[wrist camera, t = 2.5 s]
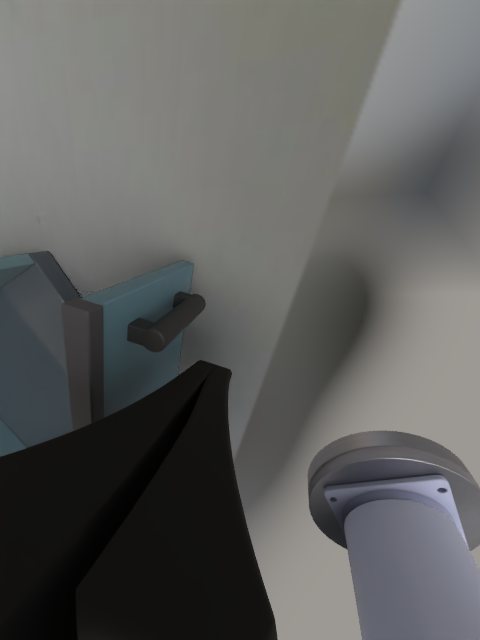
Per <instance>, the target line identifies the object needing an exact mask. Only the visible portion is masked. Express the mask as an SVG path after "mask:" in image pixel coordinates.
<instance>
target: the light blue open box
mask: <svg viewBox="0 0 480 640" xmlns="http://www.w3.org/2000/svg"><path fill="white" fill-rule="evenodd" d="M75 298H81V297H80V296H79V294H78V293H77V291H76V290H75V289H74V287H73V286H72V284H71V283H70V281H69V280H68V278H67V277H66V276H65V274H64V273H63V271H62V270H61V268H60V267H59V265H58V264H57V263H56V261H55V260H54V258H53V257H52V255H51V254H50V252H49V251H45V252H38V253H30V254H21V255H13V256H6V257H0V457H1V456H4V455H7V454H10V453H14V452H17V451H20V450H23V449H26V448H28V447H31V446H34V445H37V444H39V443H42V442H45V441H48V440H51V439H53V438H56V437H59V436H62V435H64V434H67V433H69V432H72V431H73V430H72V419H71V409H70V398H69V387H68V376H67V366H66V355H65V344H64V333H63V323H62V312H61V304H62V303H64V302H67V301H70V300H73V299H75Z"/></svg>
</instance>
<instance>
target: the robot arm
mask: <svg viewBox="0 0 480 640" xmlns="http://www.w3.org/2000/svg"><path fill="white" fill-rule="evenodd" d="M231 375H232V372H231V370H230V369H227V368H224V367H221V366H218V365H214V364H211V363H208V362H205V361H202V360H200V361H198V362H196V363H195V364H194V365H192V366H191V367H190V368H188V369H187V370H186V371H184V372H183V373H181V374H180V375H179V376H177V377H176V378H174V379H173V380H171V381H170V382H168V383H167V384H165V385H163V386H162V387H160V388H159V389H157V390H155V391H154V392H152V393H150V394H149V395H147V396H145V397H143V398H142V399H140V400H138V401H136V402H135V403H133V404H131V405H129V406H127V407H125V408H123V409H121V410H119V411H117V412H115V413H113V414H111V415H109V416H107V417H105V418H102V419H100V420H98V421H96V422H93V423H91V424H89V425H86V426H84V427H82V428H79V429H77V430H74V431H72V432H69V433H67V434H64V435H62V436H59V437H56V438H53V439H51V440H48V441H45V442H42V443H39V444H37V445H34V446H31V447H28V448H26V449H23V450H20V451H17V452H14V453H10V454H7V455H4V456H1V457H0V640H277V632H276V625H275V618H274V615H273V611H272V608H271V605H270V602H269V599H268V596H267V593H266V589H265V586H264V583H263V580H262V577H261V574H260V570H259V567H258V563H257V560H256V557H255V553H254V550H253V546H252V542H251V539H250V535H249V531H248V528H247V524H246V520H245V516H244V512H243V507H242V503H241V499H240V494H239V490H238V486H237V481H236V475H235V470H234V464H233V458H232V451H231V443H230V434H229V422H228V390H229V382H230V379H231ZM323 490H324V496H325V498H326V499H327V501H328V503H329V505H330V507H331V509H332V511H333V513H334V515H335V517H336V519H337V521H338V523H339V525H340V527H341V529H342V531H343V533H344V534H345V536H346V542H347V548H348V555H349V560H350V567H351V573H352V579H353V585H354V591H355V597H356V604H357V610H358V616H359V623H360V629H361V635H362V640H480V570H479V568H478V566H477V564H476V562H475V560H474V558H473V557H472V554H471V553H470V551H469V548H468V545H467V541H466V538H465V535H464V531H463V528H462V525H461V522H460V518H459V515H458V512H457V508H456V505H455V502H454V499H453V495H452V492H451V489H450V485H449V483H448V481H447V479H446V478H445V477H444V476H442V475H437V474H435V475H426V476H416V477H407V478H397V479H388V480H378V481H369V482H359V483H350V484H340V485H331V486H326V487H325V488H324V489H323Z"/></svg>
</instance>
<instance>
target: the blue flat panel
mask: <svg viewBox="0 0 480 640" xmlns="http://www.w3.org/2000/svg"><path fill="white" fill-rule="evenodd" d="M193 267H194V264H193V263H191V262H187V261H184V260H182V261H179V262H176V263H174V264H171V265H168V266H166V267H163V268H160V269H158V270H155V271H152V272H150V273H147V274H144V275H141V276H139V277H136V278H133V279H131V280H128V281H125V282H123V283H120V284H117V285H115V286H112V287H109V288H106V289H104V290H101V291H98V292H96V293H93V294H90V295H88V296H85V297H82V298H75V299H73V300H70V301H67V302H64V303H62V304H61V312H62V323H63V333H64V344H65V355H66V366H67V376H68V387H69V398H70V409H71V419H72V430H73V431H74V430H77V429H79V428H82V427H84V426H86V425H89V424H91V423H93V422H96V421H98V420H100V419H102V418H105V417H107V416H109V415H111V414H113V413H115V412H117V411H119V410H121V409H123V408H125V407H127V406H129V405H131V404H133V403H135V402H136V401H138V400H140V399H142V398H143V397H145V396H147V395H149V394H150V393H152V392H154V391H155V390H157V389H159V388H160V387H162V386H163V385H165V384H167V383H168V382H170V381H171V380H173V379H174V378H176V377H177V372H178V365H179V359H180V352H181V346H182V339H183V332H184V329H185V328H186V327H187V326H188V325H189V324H190V323H191V322H192V321H193V320H194V319H195V318H196V317H197V316H198V315H199V314H200V313H201V312H202V311H203V310H204V308H205V300H204V298H203V297H202V296H200V295H198V294H193V295H191V294H189V293H190V287H191V280H192V273H193Z"/></svg>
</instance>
